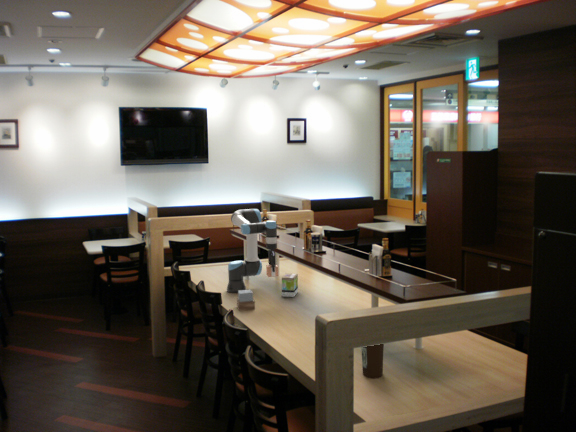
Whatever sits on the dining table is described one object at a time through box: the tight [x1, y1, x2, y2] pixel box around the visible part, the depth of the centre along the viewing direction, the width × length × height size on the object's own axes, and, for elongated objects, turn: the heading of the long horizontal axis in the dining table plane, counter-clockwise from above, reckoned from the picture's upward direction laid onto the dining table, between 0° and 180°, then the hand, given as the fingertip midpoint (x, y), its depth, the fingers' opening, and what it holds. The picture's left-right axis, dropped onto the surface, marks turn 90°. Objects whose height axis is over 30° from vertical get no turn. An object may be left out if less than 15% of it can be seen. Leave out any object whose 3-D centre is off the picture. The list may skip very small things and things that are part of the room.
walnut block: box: [236, 297, 256, 312], centre depth 362 cm, size 11×11×6 cm
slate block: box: [237, 288, 254, 302], centre depth 361 cm, size 9×9×6 cm
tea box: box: [281, 273, 299, 298], centre depth 394 cm, size 15×10×15 cm, turn 168°
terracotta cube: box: [265, 264, 279, 278], centre depth 364 cm, size 7×7×7 cm
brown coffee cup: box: [360, 344, 385, 379], centre depth 244 cm, size 11×11×25 cm
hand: (272, 274), depth 365 cm, fingers closed on terracotta cube, 7 cm apart
